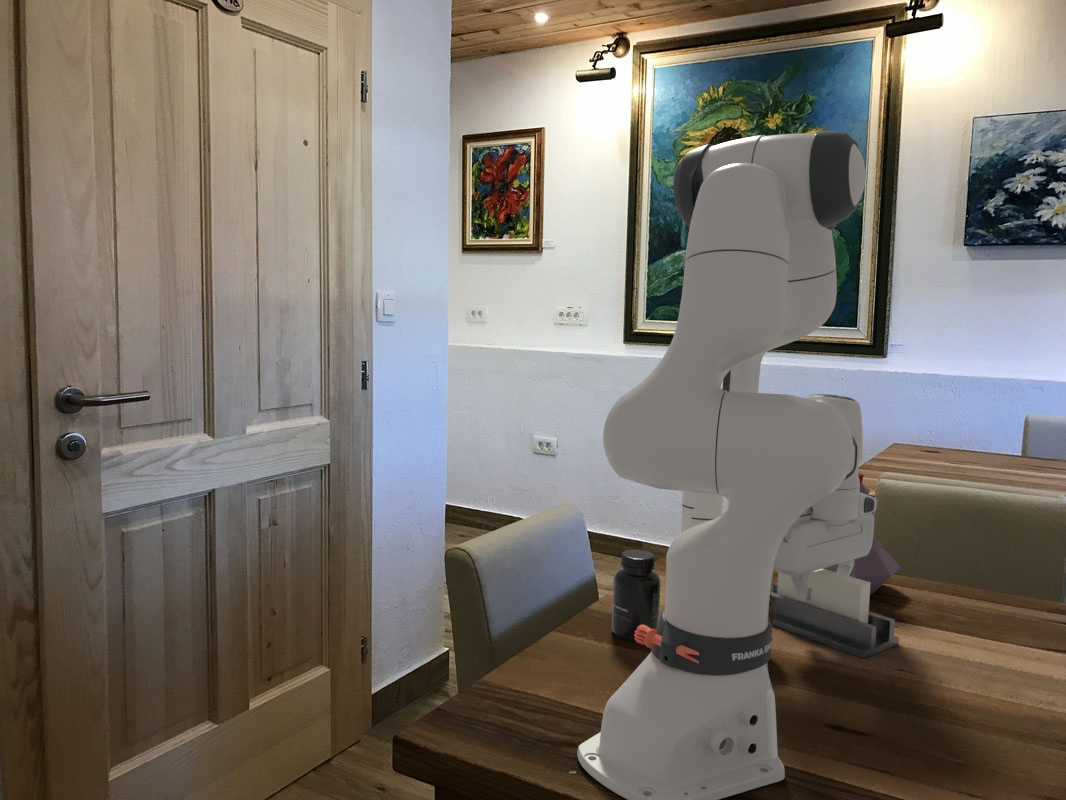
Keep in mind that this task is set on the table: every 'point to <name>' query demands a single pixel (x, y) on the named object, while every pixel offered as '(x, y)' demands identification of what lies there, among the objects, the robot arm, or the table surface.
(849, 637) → the floor track
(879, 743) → the table surface
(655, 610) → the supplement bottle
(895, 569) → the flask
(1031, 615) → the table surface
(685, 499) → the cylindrical container
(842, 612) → the door panel
